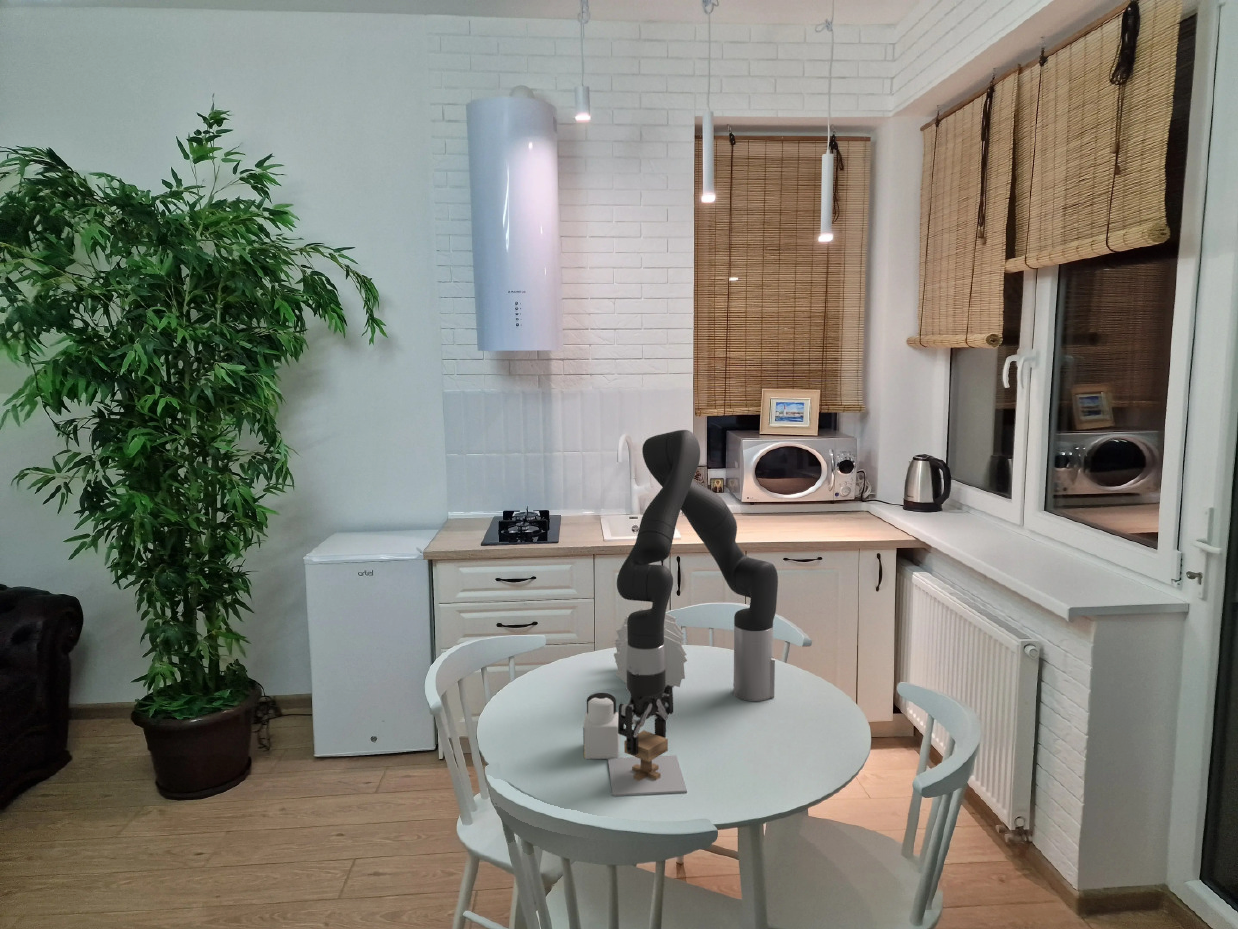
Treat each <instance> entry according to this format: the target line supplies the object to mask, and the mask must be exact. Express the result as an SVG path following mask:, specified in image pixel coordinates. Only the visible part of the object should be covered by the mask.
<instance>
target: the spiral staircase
mask: <svg viewBox="0 0 1238 929" xmlns="http://www.w3.org/2000/svg"><path fill="white" fill-rule="evenodd" d="M641 610H645V608H644V607H642V608H641V609H639V610H638V611H641ZM628 617H629V615H626V616H625V618H624V621H623V622H622V623H623V624H622V625H621V627H620V628H617V629H615V631H616V635H617V638H615V639H614V641H615V643H614V644H615V648H616V652H614V653H613V656H614V659H615V661H614V663H616V666H617V670H616V671H615V672H614V673H615V675H616V676H617V677H619V679H621V680H622V681H623V682H624V683H625V684H626V685H627V669H626V654H627V644H628V640H627V621H628ZM676 620H677V617H675V616H673V615H670V614H668V613H667V612H666V613H665V619H664V648H665V667H666V684H667V685H670V686H672V688H674V687H677V688H680V686H681V683H682V680H685V679H686V677H685V676H686V675H685V674H686V672H685V663H686V662H688V659H687V658H686V656H687V653H686V652H685V649H684V648H683V645H682V642H683V640H684V639H685V638H684V637H683V635H684V632H683V631H682V630H681V628H680V627H679V626H678V624H677V622H676ZM625 690H627V691H628V689H627V686H626V688H625Z"/></svg>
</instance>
